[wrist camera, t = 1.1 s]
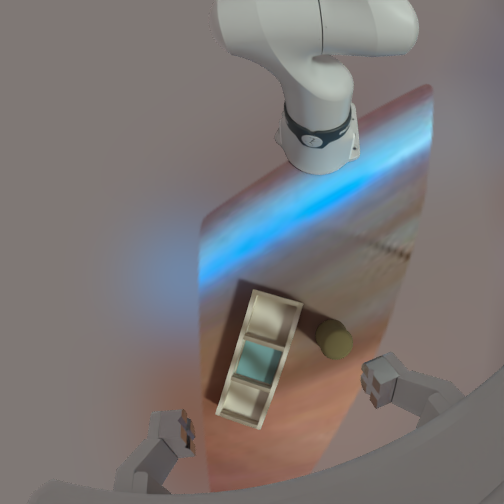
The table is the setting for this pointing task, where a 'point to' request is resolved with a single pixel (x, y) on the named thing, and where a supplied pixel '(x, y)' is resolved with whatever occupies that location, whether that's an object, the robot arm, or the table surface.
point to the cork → (334, 339)
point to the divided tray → (258, 358)
